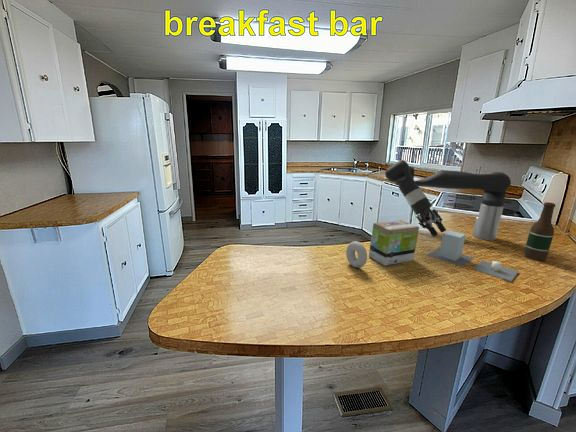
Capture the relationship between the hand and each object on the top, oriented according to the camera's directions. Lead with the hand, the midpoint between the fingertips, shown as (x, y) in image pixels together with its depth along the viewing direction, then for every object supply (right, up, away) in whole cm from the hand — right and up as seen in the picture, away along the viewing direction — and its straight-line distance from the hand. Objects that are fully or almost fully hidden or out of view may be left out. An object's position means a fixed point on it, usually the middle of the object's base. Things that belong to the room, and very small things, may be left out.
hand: (440, 233), depth 120 cm
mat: (+4, -10, -1) cm, 11 cm away
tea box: (-22, -10, -4) cm, 25 cm away
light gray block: (+4, -9, -1) cm, 10 cm away
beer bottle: (+42, -11, +3) cm, 43 cm away
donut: (-39, -12, -12) cm, 42 cm away
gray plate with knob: (+14, -14, -12) cm, 23 cm away
